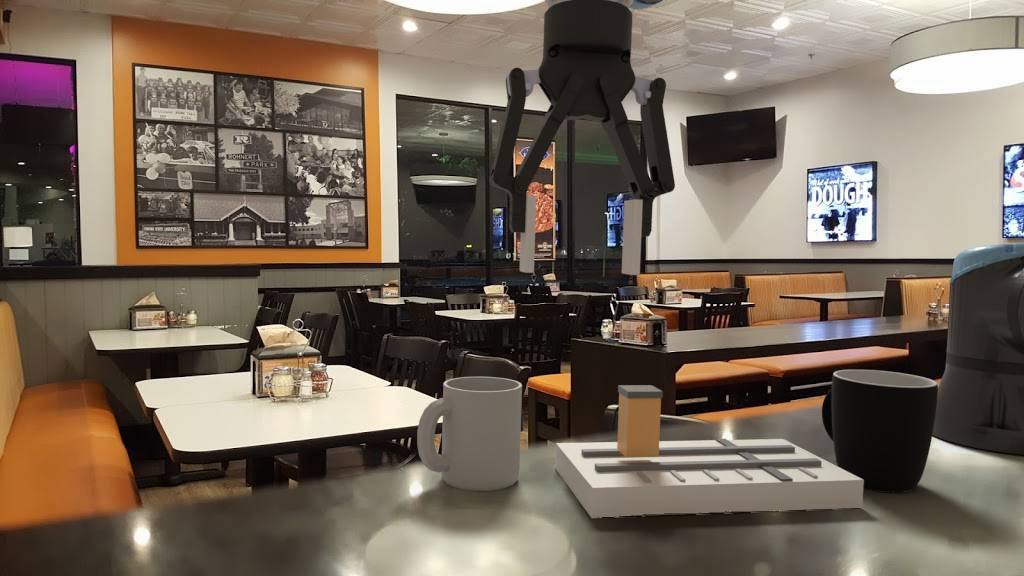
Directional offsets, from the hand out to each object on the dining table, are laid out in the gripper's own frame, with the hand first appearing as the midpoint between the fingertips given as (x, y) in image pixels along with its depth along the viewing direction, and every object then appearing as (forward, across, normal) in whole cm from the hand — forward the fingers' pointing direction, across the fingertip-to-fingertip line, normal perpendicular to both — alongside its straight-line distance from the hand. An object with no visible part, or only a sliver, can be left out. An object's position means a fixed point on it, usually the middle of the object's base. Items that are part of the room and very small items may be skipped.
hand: (579, 272), depth 64 cm
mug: (+20, -30, -2) cm, 36 cm away
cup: (+20, +9, -4) cm, 22 cm away
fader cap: (+16, -6, 0) cm, 17 cm away
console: (+19, -12, 0) cm, 23 cm away
